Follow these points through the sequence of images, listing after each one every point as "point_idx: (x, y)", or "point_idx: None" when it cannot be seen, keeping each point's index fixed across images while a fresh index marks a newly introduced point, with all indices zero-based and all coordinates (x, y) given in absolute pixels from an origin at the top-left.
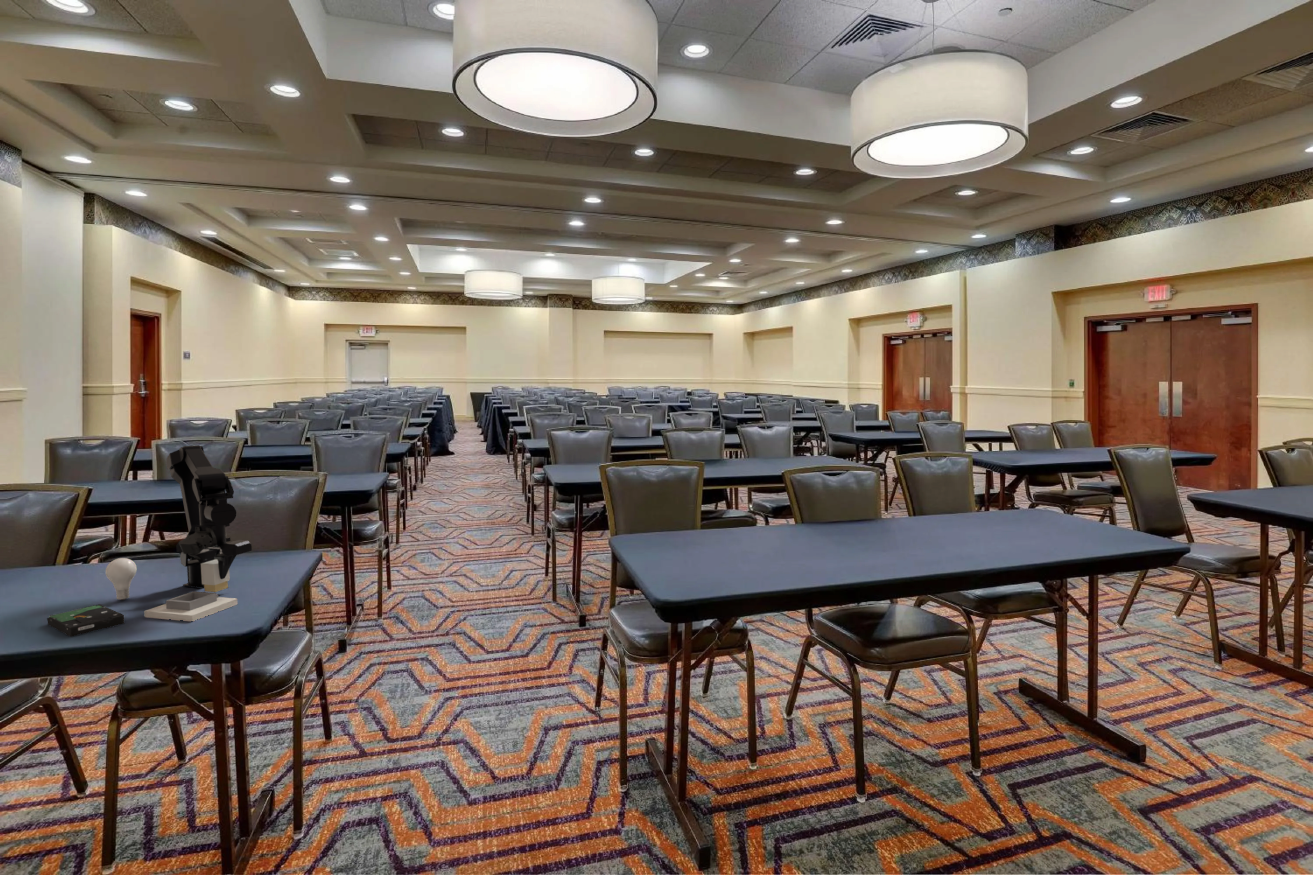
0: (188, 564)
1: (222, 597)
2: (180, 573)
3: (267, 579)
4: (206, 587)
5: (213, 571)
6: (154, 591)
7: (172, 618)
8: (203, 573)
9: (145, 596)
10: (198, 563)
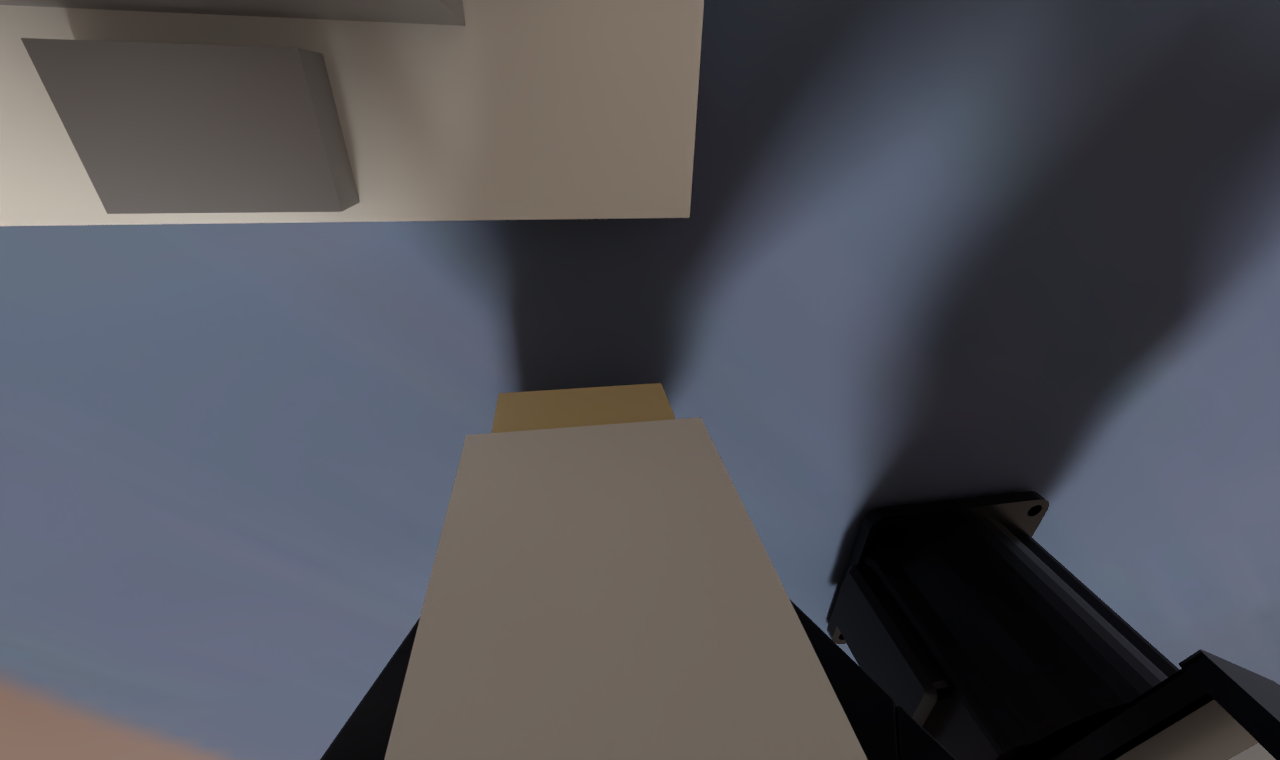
0: (1193, 692)
1: (77, 219)
2: (1166, 634)
3: None
4: (637, 410)
5: (421, 641)
6: (1210, 347)
7: None
8: (710, 550)
9: (1248, 206)
10: (1089, 743)
